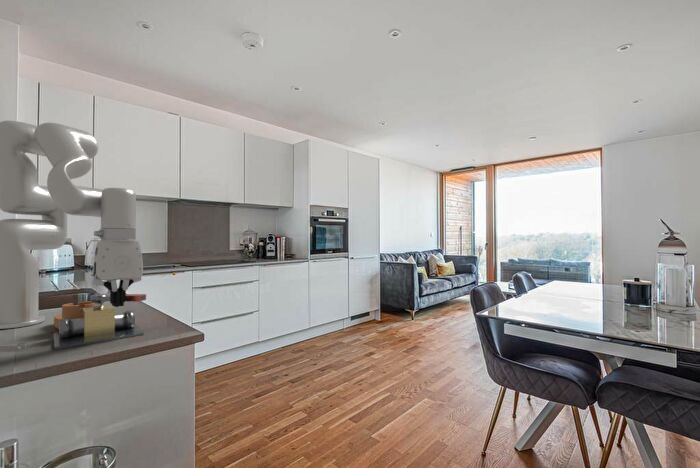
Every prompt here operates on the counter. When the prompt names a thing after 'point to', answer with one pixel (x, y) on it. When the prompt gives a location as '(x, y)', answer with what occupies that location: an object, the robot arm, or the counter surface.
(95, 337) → the valve
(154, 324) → the counter surface
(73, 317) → the bracket
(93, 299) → the lever
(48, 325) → the counter surface
